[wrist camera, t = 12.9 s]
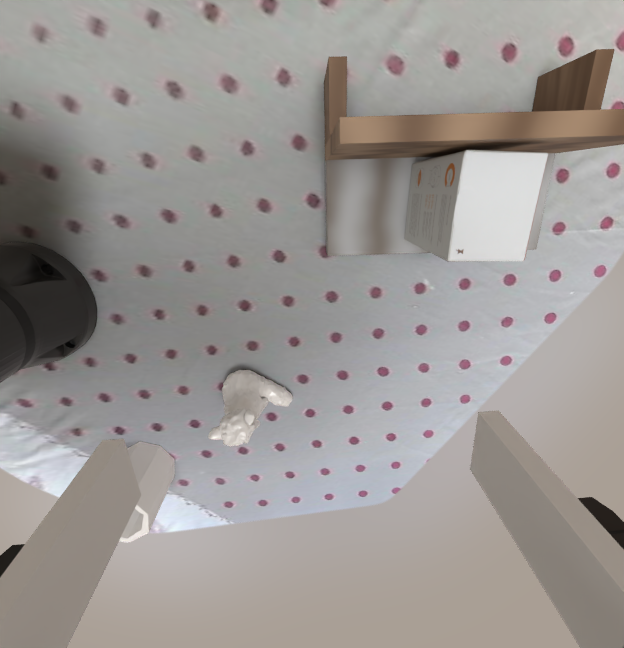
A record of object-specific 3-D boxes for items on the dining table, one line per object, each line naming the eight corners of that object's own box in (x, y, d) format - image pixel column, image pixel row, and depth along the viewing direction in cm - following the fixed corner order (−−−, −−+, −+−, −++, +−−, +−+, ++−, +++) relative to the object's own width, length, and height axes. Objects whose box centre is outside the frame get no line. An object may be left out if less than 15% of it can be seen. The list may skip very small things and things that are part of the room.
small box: (458, 240, 40) (525, 264, 28) (403, 240, 40) (446, 263, 28) (471, 162, 37) (552, 150, 25) (411, 161, 37) (463, 149, 25)
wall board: (326, 251, 43) (339, 292, 27) (324, 83, 37) (339, -3, 20) (521, 245, 43) (657, 282, 27) (552, 76, 37) (756, -14, 20)
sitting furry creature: (242, 426, 52) (225, 491, 41) (205, 383, 50) (176, 441, 39) (295, 396, 51) (292, 455, 40) (260, 350, 48) (246, 400, 37)
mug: (135, 432, 53) (99, 484, 43) (186, 459, 54) (162, 514, 45) (101, 483, 56) (61, 541, 47) (150, 506, 58) (121, 567, 49)
